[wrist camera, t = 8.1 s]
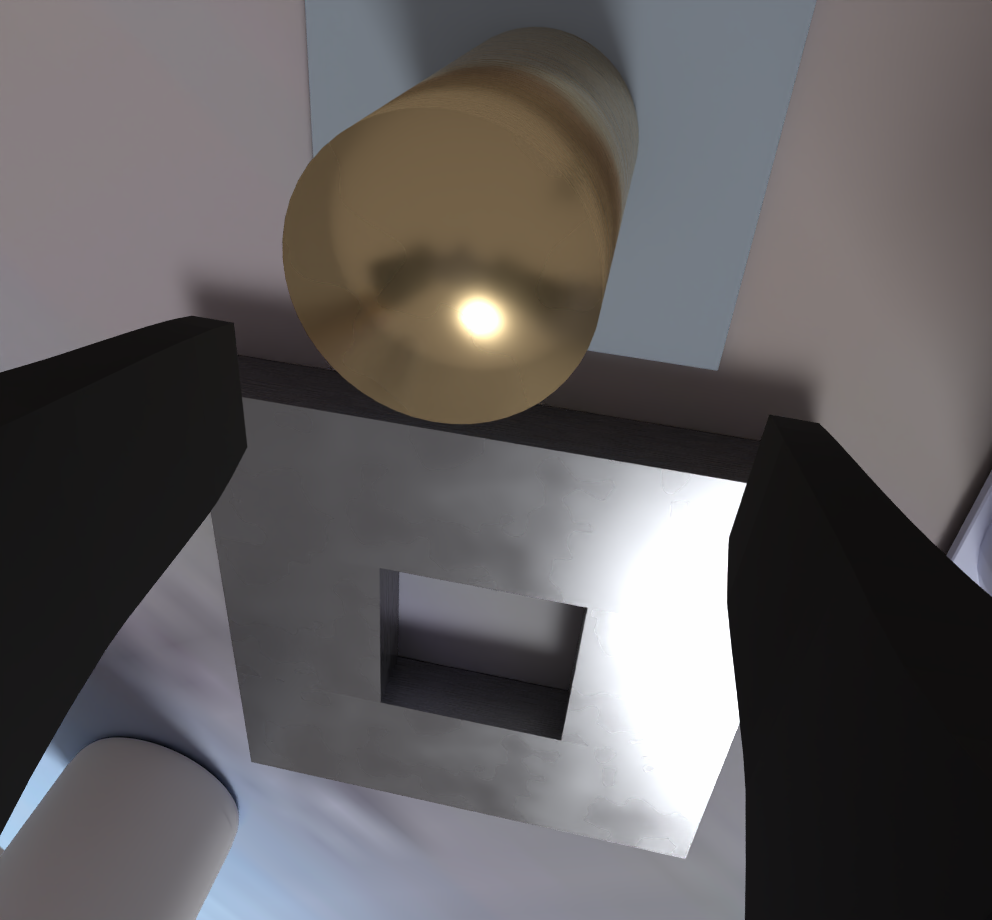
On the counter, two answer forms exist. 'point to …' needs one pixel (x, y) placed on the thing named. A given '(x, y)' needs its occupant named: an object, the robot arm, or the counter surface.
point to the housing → (493, 565)
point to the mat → (661, 121)
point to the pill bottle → (120, 839)
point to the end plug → (468, 229)
